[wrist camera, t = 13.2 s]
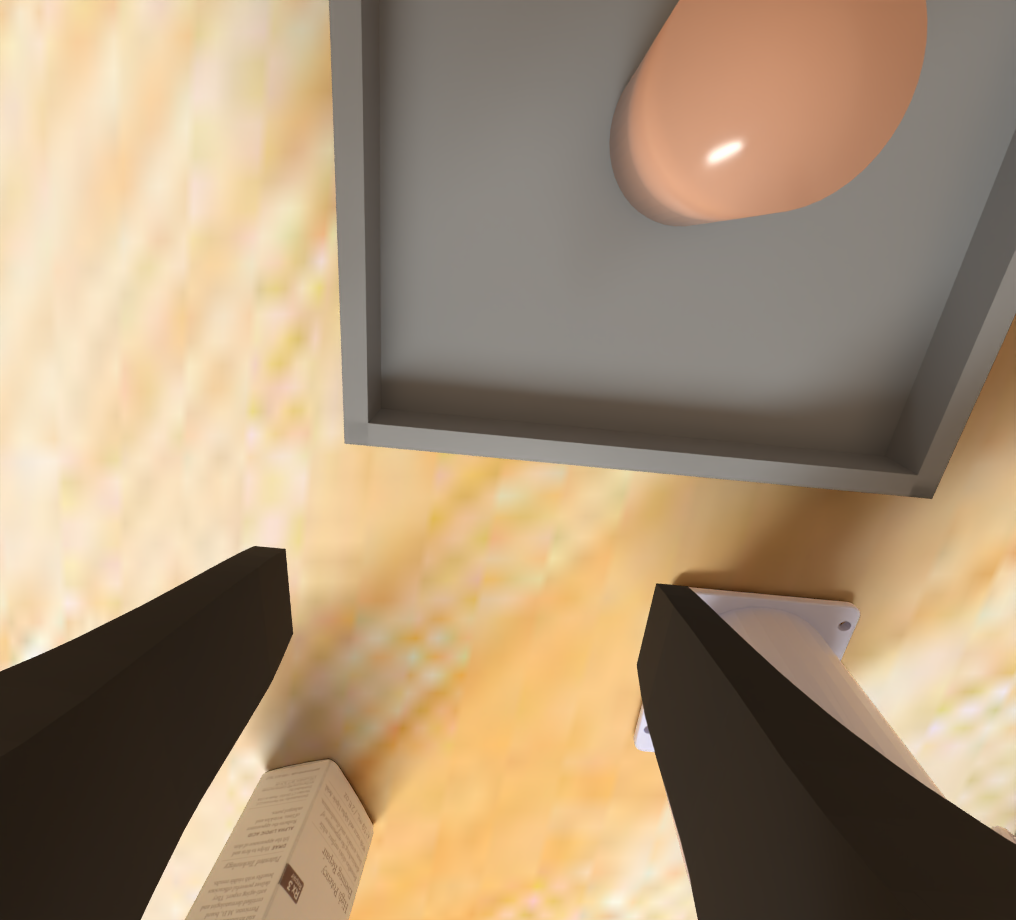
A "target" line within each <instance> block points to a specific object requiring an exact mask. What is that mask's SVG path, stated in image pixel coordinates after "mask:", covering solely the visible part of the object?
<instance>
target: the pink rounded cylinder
mask: <svg viewBox="0 0 1016 920" xmlns="http://www.w3.org/2000/svg"><path fill="white" fill-rule="evenodd" d="M926 41H927V7H926V0H679V2H678V3H677V5H676V6H675V8H674V10H673V11H672V13H671V14H670V16H669V18H668V19H667V21H666V22H665V24H664V25H663V27H662V29H661V30H660V32H659V33H658V35H657V37H656V38H655V40H654V41H653V43H652V45H651V46H650V48H649V49H648V51H647V53H646V54H645V56H644V57H643V59H642V61H641V62H640V64H639V65H638V67H637V69H636V70H635V72H634V73H633V75H632V77H631V78H630V80H629V81H628V83H627V85H626V87H625V88H624V90H623V92H622V94H621V96H620V98H619V101H618V103H617V105H616V108H615V112H614V115H613V119H612V124H611V129H610V141H609V145H610V159H611V165H612V169H613V173H614V176H615V179H616V181H617V183H618V186H619V188H620V190H621V191H622V193H623V195H624V196H625V198H626V199H627V200H628V201H629V203H630V204H631V205H632V206H633V207H634V208H635V209H636V210H637V211H638V212H640V213H641V214H643V215H644V216H645V217H647V218H649V219H651V220H653V221H655V222H658V223H661V224H664V225H669V226H682V227H686V226H693V225H700V224H707V223H713V222H720V221H727V220H733V219H740V218H746V217H753V216H760V215H766V214H773V213H779V212H786V211H791V210H794V209H798V208H802V207H805V206H808V205H810V204H812V203H815V202H817V201H820V200H822V199H824V198H825V197H827V196H829V195H831V194H833V193H834V192H836V191H838V190H839V189H840V188H842V187H843V186H845V185H846V184H847V183H849V182H850V181H852V180H853V179H854V178H855V177H856V176H857V175H858V174H859V173H861V172H862V171H863V170H864V169H865V168H866V167H867V166H868V165H869V164H870V163H871V162H872V161H873V160H874V158H875V157H876V156H877V155H878V154H879V153H880V152H881V150H882V149H883V148H884V146H885V145H886V144H887V142H888V141H889V140H890V138H891V137H892V135H893V134H894V132H895V130H896V129H897V127H898V125H899V124H900V122H901V121H902V119H903V117H904V114H905V112H906V110H907V108H908V106H909V104H910V102H911V100H912V97H913V94H914V92H915V89H916V86H917V84H918V81H919V77H920V73H921V69H922V65H923V61H924V55H925V48H926Z"/></svg>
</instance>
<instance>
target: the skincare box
mask: <svg viewBox="0 0 1016 920" xmlns="http://www.w3.org/2000/svg"><path fill="white" fill-rule="evenodd" d="M372 836H373V824H372V822H371V820H370V819H369V817H368V815H367V813H366V811H365V809H364V807H363V806H362V804H361V802H360V800H359V799H358V797H357V795H356V794H355V792H354V790H353V789H352V787H351V785H350V784H349V782H348V781H347V779H346V778H345V776H344V774H343V773H342V771H341V770H340V768H339V767H338V765H337V764H336V763H335V762H334V761H332V760H330V759H327V760H320V761H313V762H307V763H302V764H297V765H292V766H287V767H283V768H279V769H275V770H272V771H269V772H266V773H264V774H263V775H262V777H261V779H260V781H259V783H258V784H257V786H256V788H255V790H254V792H253V794H252V796H251V798H250V799H249V801H248V803H247V805H246V807H245V809H244V811H243V813H242V815H241V816H240V818H239V820H238V822H237V824H236V826H235V828H234V829H233V831H232V833H231V835H230V837H229V839H228V840H227V842H226V844H225V846H224V848H223V850H222V852H221V853H220V855H219V857H218V859H217V861H216V863H215V865H214V866H213V868H212V870H211V872H210V874H209V876H208V877H207V879H206V881H205V883H204V885H203V887H202V889H201V891H200V892H199V894H198V896H197V898H196V900H195V902H194V904H193V906H192V907H191V909H190V911H189V913H188V915H187V917H186V918H185V920H348V919H349V916H350V912H351V909H352V906H353V902H354V899H355V895H356V892H357V888H358V885H359V881H360V878H361V874H362V871H363V867H364V864H365V861H366V857H367V853H368V850H369V847H370V843H371V840H372Z"/></svg>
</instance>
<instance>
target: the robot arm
mask: <svg viewBox="0 0 1016 920" xmlns="http://www.w3.org/2000/svg"><path fill="white" fill-rule="evenodd" d="M859 618H860V611H859V609H858V608H857V607H856V606H855V605H854V604H852V603H850V602H843V601H832V600H821V599H810V598H800V597H789V596H778V595H767V594H757V593H746V592H735V591H724V590H714V589H703V588H692V587H688V586H678V585H667V584H656V587H655V591H654V595H653V600H652V604H651V608H650V612H649V616H648V620H647V625H646V629H645V633H644V637H643V641H642V645H641V650H640V654H639V658H638V662H637V670H638V677H639V684H640V690H641V697H642V702H643V703H642V707H641V711H640V714H639V718H638V722H637V726H636V730H635V734H634V743H635V746H636V748H637V749H639V750H641V751H648V752H655V755H656V758H657V762H658V765H659V768H660V772H661V775H662V779H663V783H664V787H665V791H666V795H667V798H668V802H669V806H670V810H671V814H672V818H673V822H674V826H675V829H676V833H677V837H678V841H679V845H680V849H681V853H682V857H683V860H684V864H685V868H686V872H687V876H688V878H689V881H690V884H691V887H692V892H693V897H694V902H695V907H696V912H697V917H698V920H1016V836H1014V835H1012V834H1011V833H1010V832H1009V831H1008V830H1007V829H1005V828H1002V827H999V826H996V827H992V828H989V827H987V826H986V825H984V824H983V823H981V822H980V821H978V820H977V819H975V818H974V817H972V816H971V815H969V814H968V813H966V812H965V811H963V810H962V809H960V808H959V807H957V806H956V805H954V804H953V803H951V802H950V801H948V800H947V799H946V798H945V797H944V795H943V794H942V793H941V792H940V790H939V789H938V788H937V786H936V785H935V784H934V782H933V781H932V780H931V778H930V777H929V776H928V775H927V773H926V772H925V771H924V769H923V768H922V767H921V765H920V764H919V763H918V761H917V760H916V759H915V758H914V756H913V755H912V754H911V752H910V751H909V750H908V748H907V747H906V746H905V745H904V743H903V742H902V741H901V739H900V738H899V737H898V735H897V734H896V733H895V731H894V730H893V729H892V728H891V726H890V725H889V724H888V722H887V721H886V720H885V718H884V717H883V716H882V714H881V713H880V712H879V711H878V709H877V708H876V707H875V705H874V704H873V703H872V701H871V700H870V699H869V697H868V696H867V695H866V694H865V692H864V691H863V690H862V688H861V687H860V686H859V684H858V683H857V682H856V680H855V679H854V678H853V677H852V675H851V674H850V673H849V671H848V670H847V669H846V667H845V666H844V665H843V663H842V662H841V659H842V657H843V654H844V652H845V650H846V647H847V645H848V643H849V641H850V638H851V636H852V634H853V631H854V629H855V627H856V624H857V622H858V620H859ZM842 622H844V623H843V624H841V625H839V624H840V623H842ZM292 635H293V627H292V616H291V605H290V594H289V583H288V571H287V560H286V549H280V548H269V547H258V546H253V547H251V548H249V549H247V550H245V551H242V552H240V553H238V554H236V555H235V556H233V557H231V558H229V559H227V560H225V561H223V562H221V563H219V564H218V565H216V566H214V567H212V568H210V569H208V570H207V571H205V572H203V573H201V574H199V575H197V576H196V577H194V578H192V579H190V580H188V581H186V582H185V583H183V584H181V585H179V586H177V587H175V588H173V589H172V590H170V591H168V592H166V593H164V594H162V595H161V596H159V597H157V598H155V599H153V600H151V601H149V602H148V603H146V604H144V605H142V606H140V607H138V608H136V609H134V610H132V611H130V612H128V613H126V614H124V615H122V616H120V617H118V618H116V619H114V620H112V621H110V622H108V623H106V624H104V625H102V626H100V627H98V628H96V629H94V630H92V631H90V632H88V633H86V634H84V635H82V636H80V637H78V638H75V639H73V640H71V641H69V642H67V643H65V644H63V645H60V646H58V647H56V648H54V649H52V650H49V651H47V652H45V653H43V654H40V655H38V656H36V657H34V658H31V659H29V660H26V661H24V662H22V663H19V664H17V665H15V666H12V667H10V668H8V669H5V670H3V671H0V920H141V918H142V916H143V914H144V911H145V909H146V907H147V905H148V903H149V901H150V899H151V897H152V894H153V892H154V890H155V888H156V886H157V884H158V882H159V880H160V878H161V876H162V874H163V872H164V870H165V868H166V866H167V864H168V862H169V860H170V858H171V856H172V854H173V852H174V850H175V848H176V846H177V844H178V842H179V840H180V838H181V836H182V833H183V832H184V830H185V828H186V826H187V824H188V822H189V821H190V819H191V817H192V815H193V813H194V812H195V810H196V808H197V806H198V804H199V803H200V801H201V799H202V797H203V796H204V794H205V793H206V791H207V789H208V788H209V786H210V784H211V783H212V781H213V779H214V778H215V776H216V774H217V773H218V771H219V769H220V768H221V766H222V764H223V763H224V761H225V759H226V758H227V756H228V754H229V753H230V751H231V750H232V748H233V746H234V745H235V743H236V741H237V740H238V738H239V736H240V735H241V733H242V731H243V730H244V728H245V726H246V725H247V723H248V721H249V720H250V718H251V716H252V715H253V713H254V711H255V710H256V708H257V706H258V705H259V703H260V701H261V699H262V698H263V696H264V694H265V693H266V691H267V689H268V688H269V686H270V684H271V682H272V680H273V678H274V676H275V674H276V671H277V669H278V667H279V665H280V663H281V661H282V658H283V656H284V654H285V651H286V649H287V646H288V644H289V642H290V639H291V637H292ZM646 726H647V727H646Z"/></svg>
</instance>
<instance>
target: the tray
mask: <svg viewBox="0 0 1016 920" xmlns="http://www.w3.org/2000/svg"><path fill="white" fill-rule="evenodd" d="M678 2H679V0H329V11H330V40H331V68H332V97H333V125H334V154H335V182H336V211H337V239H338V268H339V296H340V325H341V353H342V382H343V410H344V439H345V444H355V445H366V446H377V447H387V448H398V449H408V450H419V451H430V452H440V453H451V454H462V455H472V456H483V457H493V458H504V459H515V460H525V461H536V462H547V463H557V464H568V465H578V466H589V467H600V468H610V469H621V470H631V471H642V472H653V473H663V474H674V475H685V476H695V477H706V478H716V479H727V480H738V481H748V482H759V483H770V484H780V485H791V486H801V487H812V488H823V489H833V490H844V491H854V492H865V493H876V494H886V495H897V496H908V497H918V498H929V499H932V498H933V495H934V493H935V491H936V489H937V487H938V484H939V482H940V480H941V478H942V476H943V473H944V471H945V469H946V467H947V465H948V462H949V460H950V458H951V456H952V454H953V451H954V449H955V447H956V445H957V442H958V440H959V438H960V436H961V434H962V431H963V429H964V427H965V425H966V423H967V420H968V418H969V416H970V414H971V412H972V409H973V407H974V405H975V403H976V401H977V398H978V396H979V394H980V392H981V389H982V387H983V385H984V383H985V381H986V378H987V376H988V374H989V372H990V370H991V367H992V365H993V363H994V361H995V359H996V356H997V354H998V352H999V350H1000V348H1001V345H1002V343H1003V341H1004V339H1005V336H1006V334H1007V332H1008V330H1009V328H1010V325H1011V323H1012V321H1013V319H1014V317H1015V314H1016V0H926V7H927V41H926V48H925V55H924V61H923V65H922V69H921V73H920V77H919V81H918V84H917V86H916V89H915V92H914V94H913V97H912V100H911V102H910V104H909V106H908V108H907V110H906V112H905V114H904V117H903V119H902V121H901V122H900V124H899V125H898V127H897V129H896V130H895V132H894V134H893V135H892V137H891V138H890V140H889V141H888V142H887V144H886V145H885V146H884V148H883V149H882V150H881V152H880V153H879V154H878V155H877V156H876V157H875V158H874V160H873V161H872V162H871V163H870V164H869V165H868V166H867V167H866V168H865V169H864V170H863V171H862V172H861V173H859V174H858V175H857V176H856V177H855V178H854V179H853V180H852V181H850V182H849V183H847V184H846V185H845V186H843V187H842V188H840V189H839V190H838V191H836V192H834V193H833V194H831V195H829V196H827V197H825V198H824V199H822V200H820V201H817V202H815V203H812V204H810V205H808V206H805V207H802V208H798V209H794V210H791V211H786V212H779V213H773V214H766V215H760V216H753V217H746V218H740V219H733V220H727V221H720V222H713V223H707V224H700V225H693V226H686V227H682V226H669V225H664V224H661V223H658V222H655V221H653V220H651V219H649V218H647V217H645V216H644V215H643V214H641V213H640V212H638V211H637V210H636V209H635V208H634V207H633V206H632V205H631V204H630V203H629V201H628V200H627V199H626V198H625V196H624V195H623V193H622V191H621V190H620V188H619V186H618V183H617V181H616V179H615V176H614V173H613V169H612V165H611V159H610V145H609V141H610V129H611V124H612V119H613V115H614V112H615V108H616V105H617V103H618V101H619V98H620V96H621V94H622V92H623V90H624V88H625V87H626V85H627V83H628V81H629V80H630V78H631V77H632V75H633V73H634V72H635V70H636V69H637V67H638V65H639V64H640V62H641V61H642V59H643V57H644V56H645V54H646V53H647V51H648V49H649V48H650V46H651V45H652V43H653V41H654V40H655V38H656V37H657V35H658V33H659V32H660V30H661V29H662V27H663V25H664V24H665V22H666V21H667V19H668V18H669V16H670V14H671V13H672V11H673V10H674V8H675V6H676V5H677V3H678Z"/></svg>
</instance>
